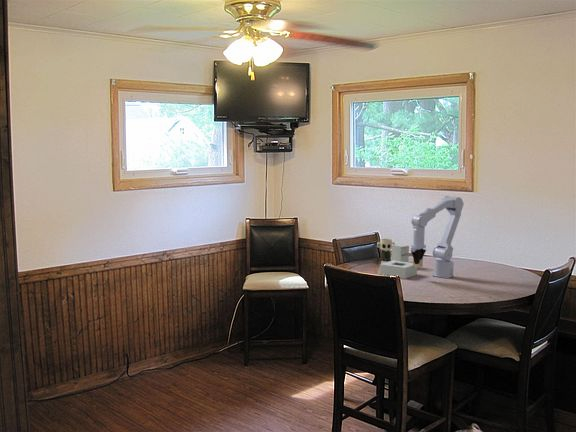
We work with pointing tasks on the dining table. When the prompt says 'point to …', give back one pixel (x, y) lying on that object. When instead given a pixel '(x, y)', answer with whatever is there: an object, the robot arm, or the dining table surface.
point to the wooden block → (418, 264)
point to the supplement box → (400, 253)
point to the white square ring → (398, 269)
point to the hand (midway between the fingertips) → (418, 263)
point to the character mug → (385, 248)
